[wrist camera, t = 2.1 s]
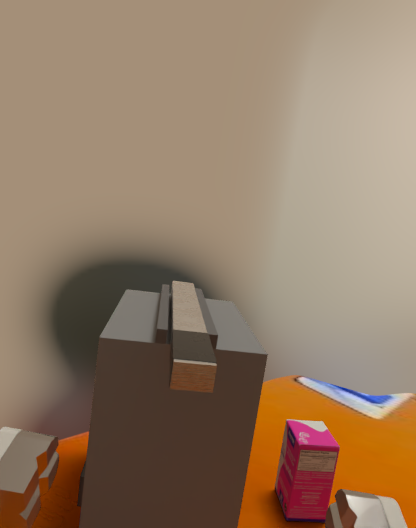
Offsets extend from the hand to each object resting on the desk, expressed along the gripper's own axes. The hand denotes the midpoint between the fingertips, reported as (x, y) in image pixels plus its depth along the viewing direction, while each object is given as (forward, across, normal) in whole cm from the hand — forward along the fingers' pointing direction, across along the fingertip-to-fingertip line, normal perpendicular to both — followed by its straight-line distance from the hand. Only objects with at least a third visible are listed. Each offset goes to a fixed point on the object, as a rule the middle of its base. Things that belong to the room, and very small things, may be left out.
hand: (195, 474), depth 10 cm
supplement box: (+25, -18, +41) cm, 51 cm away
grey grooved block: (+21, +2, +40) cm, 45 cm away
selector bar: (+25, +2, +14) cm, 28 cm away
